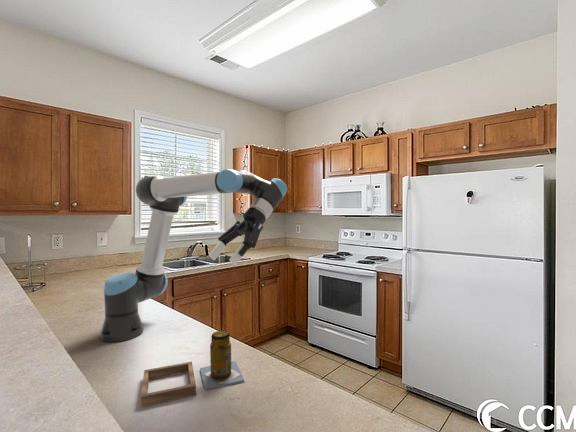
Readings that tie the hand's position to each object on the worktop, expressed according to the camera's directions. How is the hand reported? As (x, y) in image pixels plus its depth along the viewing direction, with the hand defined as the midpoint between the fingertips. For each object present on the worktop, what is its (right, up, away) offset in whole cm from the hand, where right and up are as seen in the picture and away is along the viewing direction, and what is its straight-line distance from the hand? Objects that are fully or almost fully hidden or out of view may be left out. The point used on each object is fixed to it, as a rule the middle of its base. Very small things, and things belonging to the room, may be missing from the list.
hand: (221, 260), depth 103 cm
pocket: (-11, -33, -15) cm, 38 cm away
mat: (+2, -33, -10) cm, 34 cm away
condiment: (+3, -33, -10) cm, 34 cm away
